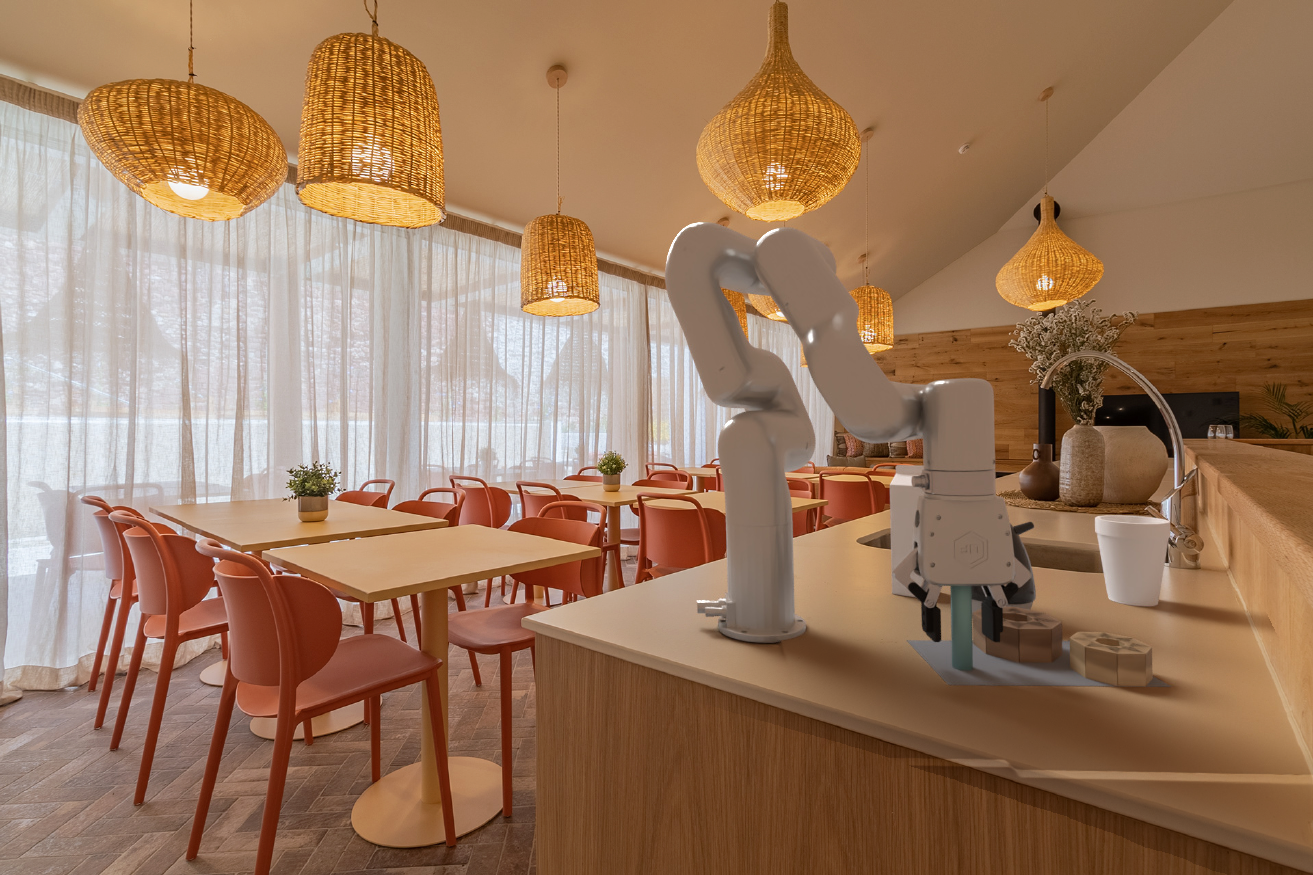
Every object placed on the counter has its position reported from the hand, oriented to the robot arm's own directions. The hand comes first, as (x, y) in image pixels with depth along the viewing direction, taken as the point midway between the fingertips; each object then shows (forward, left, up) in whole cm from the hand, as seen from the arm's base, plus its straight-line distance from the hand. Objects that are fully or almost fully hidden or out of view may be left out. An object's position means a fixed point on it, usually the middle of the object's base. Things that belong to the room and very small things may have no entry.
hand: (961, 636), depth 71 cm
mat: (+8, +2, -4) cm, 9 cm away
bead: (+9, +6, -4) cm, 11 cm away
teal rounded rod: (0, 0, -4) cm, 4 cm away
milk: (+6, +34, -4) cm, 35 cm away
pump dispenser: (+13, +20, -4) cm, 24 cm away
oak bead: (+15, -1, -4) cm, 16 cm away
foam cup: (+38, +29, -4) cm, 48 cm away
